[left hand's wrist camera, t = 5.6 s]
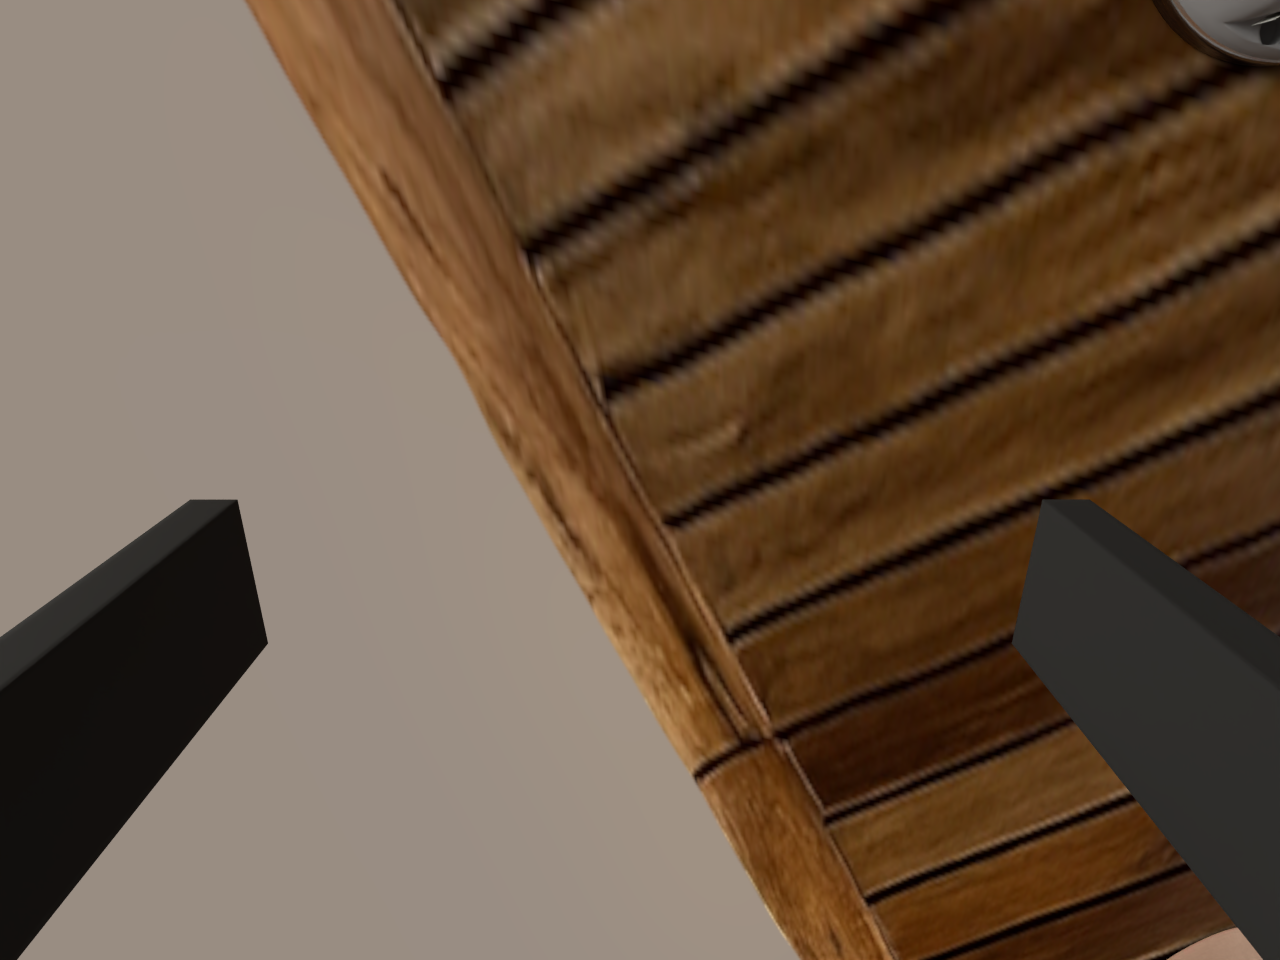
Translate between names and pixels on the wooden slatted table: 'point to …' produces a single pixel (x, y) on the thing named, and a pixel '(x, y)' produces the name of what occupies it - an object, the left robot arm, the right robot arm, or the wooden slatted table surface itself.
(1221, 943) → the anatomical model
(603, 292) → the wooden slatted table surface
